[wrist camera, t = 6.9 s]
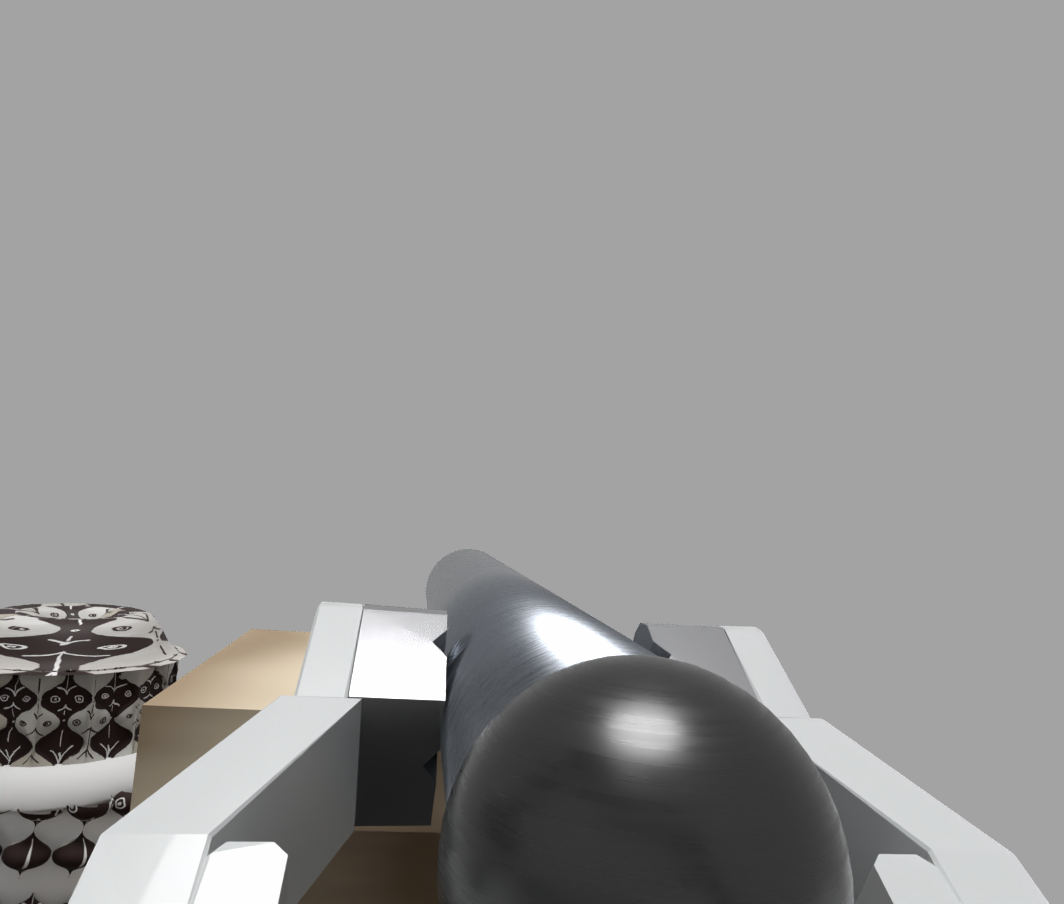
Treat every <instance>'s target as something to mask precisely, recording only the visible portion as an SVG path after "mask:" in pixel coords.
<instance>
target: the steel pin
mask: <svg viewBox="0 0 1064 904" xmlns="http://www.w3.org/2000/svg"><path fill="white" fill-rule="evenodd" d="M426 598H427V608H428V609H430V610H443V611H447V635H446V645H445V656H446V657H447V660H446V692H445V707H444V715H443V720H442V725H441V731H440V748H441V759H442V770H443V781H444V792H445V802H446V809H445V813H444V816H443V820H442V827H441V834H440V841H439V848H438V862H437V890H438V899H439V904H854V887H853V877H852V870H851V864H850V858H849V852H848V846H847V841H846V838H845V834H844V831H843V827H842V824H841V820H840V817H839V814H838V811H837V809H836V806H835V804H834V802H833V799H832V797H831V795H830V793H829V790H828V788H827V786H826V784H825V782H824V780H823V779H822V777H821V775H820V774H819V772H818V770H817V768H816V767H815V765H814V763H813V762H812V760H811V758H810V756H809V755H808V753H807V752H806V751H805V749H804V748H803V747H802V745H801V744H800V743H799V741H798V740H797V739H796V738H795V736H794V735H793V734H792V732H791V731H790V730H789V729H788V728H787V727H786V726H785V725H784V724H783V723H782V722H781V721H780V720H779V719H778V718H777V717H776V716H775V715H774V714H773V713H772V712H771V711H770V710H769V709H768V708H767V707H766V706H764V705H763V704H762V703H761V702H759V701H758V700H757V699H755V698H754V697H753V696H752V695H750V694H749V693H748V692H746V691H745V690H743V689H742V688H740V687H738V686H737V685H735V684H733V683H732V682H730V681H728V680H727V679H725V678H723V677H721V676H719V675H717V674H715V673H712V672H710V671H708V670H705V669H703V668H700V667H698V666H696V665H693V664H690V663H686V662H682V661H678V660H673V659H669V658H665V657H659V656H657V655H656V654H654V653H652V652H651V651H649V650H647V649H646V648H644V647H642V646H641V645H639V644H637V643H636V642H634V641H632V640H631V639H629V638H627V637H626V636H624V635H622V634H620V633H619V632H617V631H615V630H614V629H612V628H610V627H609V626H607V625H605V624H604V623H602V622H600V621H599V620H597V619H595V618H594V617H592V616H590V615H589V614H587V613H585V612H584V611H582V610H580V609H579V608H577V607H575V606H574V605H572V604H570V603H568V602H567V601H565V600H564V599H562V598H560V597H559V596H557V595H555V594H553V593H552V592H550V591H549V590H547V589H545V588H544V587H542V586H540V585H539V584H537V583H535V582H533V581H532V580H530V579H528V578H527V577H525V576H523V575H522V574H520V573H518V572H517V571H515V570H513V569H512V568H510V567H508V566H507V565H505V564H503V563H502V562H500V561H498V560H497V559H495V558H493V557H491V556H490V555H488V554H486V553H484V552H482V551H478V550H472V549H464V550H459V551H455V552H453V553H450V554H449V555H447V556H445V557H444V558H442V559H441V560H440V561H439V562H438V563H437V564H436V566H435V567H434V568H433V570H432V571H431V573H430V575H429V578H428V581H427V587H426Z"/></svg>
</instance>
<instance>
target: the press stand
mask: <svg viewBox="0 0 1064 904" xmlns="http://www.w3.org/2000/svg"><path fill="white" fill-rule="evenodd" d="M310 633H311V632H296V631H278V630H260V629H251V630H249V631H248V632H247V633H245V634H244V635H242V636H241V637H239V638H238V639H237V640H235V641H234V642H232V643H231V644H229V645H228V646H226V647H225V648H224V649H222V650H221V651H219V652H218V653H216V654H215V655H214V656H212V657H211V658H209V659H208V660H206V661H205V662H203V663H202V664H201V665H199V666H198V667H196V668H195V669H193V670H192V671H191V672H189V673H188V674H186V675H185V676H184V677H182V678H181V679H179V680H178V681H176V682H175V683H173V684H172V685H170V686H169V687H168V688H166V689H165V690H163V691H162V692H160V693H159V694H157V695H156V696H155V697H153V698H152V699H150V700H149V701H147V702H146V703H145V704H143V705H142V712H141V720H140V729H139V737H138V746H137V755H136V763H135V772H134V780H133V789H132V797H131V806H130V811H132V810H133V809H134V808H136V807H137V806H138V805H139V804H141V803H142V802H143V801H145V800H146V799H147V798H149V797H150V796H151V795H152V794H154V793H155V792H156V791H158V790H159V789H160V788H161V787H163V786H164V785H165V784H167V783H168V782H169V781H171V780H172V779H173V778H174V777H176V776H177V775H178V774H180V773H181V772H182V771H184V770H185V769H186V768H187V767H189V766H190V765H191V764H193V763H194V762H195V761H196V760H198V759H199V758H200V757H202V756H203V755H204V754H206V753H207V752H208V751H209V750H211V749H212V748H213V747H215V746H216V745H217V744H218V743H220V742H221V741H222V740H224V739H225V738H226V737H228V736H229V735H230V734H231V733H233V732H234V731H235V730H237V729H238V728H239V727H240V726H242V725H243V724H244V723H246V722H247V721H248V720H250V719H251V718H252V717H253V716H255V715H256V714H257V713H259V712H260V711H261V710H262V709H264V708H265V707H266V706H268V705H269V704H270V703H272V702H273V701H274V700H275V699H277V698H278V697H279V696H281V695H289V696H294V694H295V690H296V687H297V683H298V679H299V675H300V671H301V668H302V664H303V660H304V656H305V652H306V649H307V645H308V641H309V637H310ZM445 809H446V802H445V792H444V781H443V770H442V759H441V748H440V750H439V751H438V752H437V776H436V788H435V796H434V804H433V812H432V819H431V826H354V831H353V833H352V834H351V835H350V837H349V838H348V839H347V840H346V842H345V843H344V844H343V846H342V847H341V848H340V849H339V851H338V852H337V853H336V855H335V856H334V857H333V858H332V860H331V861H330V862H329V863H328V865H327V866H326V867H325V869H324V870H323V871H322V872H321V874H320V875H319V876H318V878H317V879H316V880H315V881H314V883H313V884H312V885H311V887H310V888H309V889H308V890H307V892H306V893H305V894H304V895H303V897H302V898H301V899H300V901H299V902H298V903H297V904H439V899H438V890H437V862H438V848H439V841H440V834H441V827H442V820H443V816H444V813H445Z"/></svg>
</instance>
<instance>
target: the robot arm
mask: <svg viewBox="0 0 1064 904" xmlns="http://www.w3.org/2000/svg"><path fill="white" fill-rule="evenodd" d="M446 635H447V611H443V610H430V609H417V608H404V607H393V606H381V605H368V604H365V606H363V605H362V604H352V603H351V604H350V603H337V602H321V604H320V605H319V607H318V608H317V611H316V614H315V618H314V622H313V626H312V630H311V633H310V637H309V641H308V645H307V649H306V652H305V656H304V660H303V664H302V668H301V671H300V675H299V679H298V683H297V687H296V690H295V694H294V696H289V695H281V696H279V697H278V698H277V699H275V700H274V701H273V702H272V703H270V704H269V705H268V706H266V707H265V708H264V709H262V710H261V711H260V712H259V713H257V714H256V715H255V716H253V717H252V718H251V719H250V720H248V721H247V722H246V723H244V724H243V725H242V726H240V727H239V728H238V729H237V730H235V731H234V732H233V733H231V734H230V735H229V736H228V737H226V738H225V739H224V740H222V741H221V742H220V743H218V744H217V745H216V746H215V747H213V748H212V749H211V750H209V751H208V752H207V753H206V754H204V755H203V756H202V757H200V758H199V759H198V760H196V761H195V762H194V763H193V764H191V765H190V766H189V767H187V768H186V769H185V770H184V771H182V772H181V773H180V774H178V775H177V776H176V777H174V778H173V779H172V780H171V781H169V782H168V783H167V784H165V785H164V786H163V787H161V788H160V789H159V790H158V791H156V792H155V793H154V794H152V795H151V796H150V797H149V798H147V799H146V800H145V801H143V802H142V803H141V804H139V805H138V806H137V807H136V808H134V809H133V810H132V811H130V812H129V813H128V814H127V815H125V816H124V817H123V818H121V819H120V820H119V821H117V822H116V823H115V824H114V825H112V826H111V827H110V828H108V829H107V830H106V831H105V832H103V833H102V834H101V835H100V837H99V839H98V841H97V843H96V846H95V848H94V850H93V852H92V854H91V856H90V858H89V860H88V862H87V865H86V867H85V869H84V871H83V873H82V875H81V877H80V879H79V881H78V883H77V886H76V888H75V890H74V892H73V894H72V896H71V898H70V900H69V902H68V904H297V903H298V902H299V901H300V899H301V898H302V897H303V895H304V894H305V893H306V892H307V890H308V889H309V888H310V887H311V885H312V884H313V883H314V881H315V880H316V879H317V878H318V876H319V875H320V874H321V872H322V871H323V870H324V869H325V867H326V866H327V865H328V863H329V862H330V861H331V860H332V858H333V857H334V856H335V855H336V853H337V852H338V851H339V849H340V848H341V847H342V846H343V844H344V843H345V842H346V840H347V839H348V838H349V837H350V835H351V834H352V833H353V831H354V826H431V819H432V812H433V804H434V796H435V788H436V776H437V752H438V751H439V750H440V731H441V725H442V720H443V715H444V707H445V692H446V660H447V657H446V656H445V645H446ZM633 641H634V642H636V643H637V644H639V645H641V646H642V647H644V648H646V649H647V650H649V651H651V652H652V653H654V654H656V655H657V656H659V657H665V658H669V659H673V660H678V661H682V662H686V663H690V664H693V665H696V666H698V667H700V668H703V669H705V670H708V671H710V672H712V673H715V674H717V675H719V676H721V677H723V678H725V679H727V680H728V681H730V682H732V683H733V684H735V685H737V686H738V687H740V688H742V689H743V690H745V691H746V692H748V693H749V694H750V695H752V696H753V697H754V698H755V699H757V700H758V701H759V702H761V703H762V704H763V705H764V706H766V707H767V708H768V709H769V710H770V711H771V712H772V713H773V714H774V715H775V716H776V717H777V718H778V719H779V720H780V721H781V722H782V723H783V724H784V725H785V726H786V727H787V728H788V729H789V730H790V731H791V732H792V734H793V735H794V736H795V738H796V739H797V740H798V741H799V743H800V744H801V745H802V747H803V748H804V749H805V751H806V752H807V753H808V755H809V756H810V758H811V760H812V762H813V763H814V765H815V767H816V768H817V770H818V772H819V774H820V775H821V777H822V779H823V780H824V782H825V784H826V786H827V788H828V790H829V793H830V795H831V797H832V799H833V802H834V804H835V806H836V809H837V811H838V814H839V817H840V820H841V824H842V827H843V831H844V834H845V838H846V841H847V846H848V852H849V858H850V864H851V870H852V877H853V887H854V904H1049V903H1048V901H1047V900H1046V899H1045V897H1044V896H1043V894H1042V893H1041V891H1040V890H1039V889H1038V887H1037V886H1036V884H1035V883H1034V882H1033V880H1032V879H1031V877H1030V876H1029V875H1028V873H1027V872H1026V870H1025V869H1024V867H1023V866H1022V865H1021V863H1020V862H1019V860H1018V859H1017V858H1016V856H1015V855H1014V854H1013V853H1012V852H1010V851H1009V850H1007V849H1006V848H1005V847H1003V846H1002V845H1000V844H999V843H998V842H996V841H995V840H993V839H992V838H990V837H989V836H988V835H986V834H985V833H983V832H982V831H980V830H979V829H978V828H976V827H975V826H973V825H972V824H970V823H969V822H968V821H966V820H965V819H964V818H962V817H961V816H959V815H958V814H956V813H955V812H954V811H952V810H951V809H949V808H948V807H946V806H945V805H944V804H942V803H941V802H939V801H938V800H937V799H935V798H934V797H932V796H931V795H929V794H928V793H927V792H925V791H924V790H922V789H921V788H919V787H918V786H917V785H915V784H914V783H913V782H911V781H910V780H908V779H907V778H905V777H904V776H902V775H901V774H900V773H898V772H897V771H896V770H894V769H893V768H891V767H890V766H888V765H887V764H886V763H884V762H883V761H881V760H880V759H879V758H877V757H876V756H874V755H873V754H871V753H870V752H869V751H867V750H866V749H864V748H863V747H861V746H860V745H859V744H857V743H856V742H854V741H853V740H852V739H850V738H849V737H847V736H846V735H844V734H843V733H842V732H840V731H839V730H837V729H836V728H835V727H833V726H832V725H830V724H829V723H828V722H826V721H825V720H823V719H816V718H810V716H809V714H808V713H807V711H806V709H805V707H804V705H803V704H802V702H801V700H800V698H799V697H798V695H797V693H796V691H795V689H794V687H793V686H792V684H791V682H790V680H789V678H788V677H787V675H786V673H785V671H784V670H783V668H782V666H781V664H780V662H779V661H778V659H777V657H776V655H775V653H774V652H773V650H772V648H771V646H770V644H769V643H768V641H767V639H766V637H765V636H764V634H763V632H762V631H761V630H759V629H758V628H756V627H741V626H740V627H739V626H717V627H704V626H686V625H667V624H648V623H640V625H639V627H638V629H637V630H636V632H635V636H634V640H633Z"/></svg>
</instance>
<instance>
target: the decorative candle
mask: <svg viewBox="0 0 1064 904" xmlns="http://www.w3.org/2000/svg"><path fill="white" fill-rule="evenodd" d="M186 655H187V654H186V653H185V651H184V650H183V649H182V648H181V647H178V646H175V645H171V644H170V643H169V642H168V640H167V638H166V636H165V634H164V632H163V630H162V628H161V626H160V624H159V623H158V622H157V620H156V619H155V618H154V616H153V615H151V614H150V613H149V612H146V611H143V610H139V609H135V608H130V607H123V606H114V605H100V604H65V603H64V604H62V603H57V604H31V605H22V606H12V607H7V608H3V609H0V904H68V902H69V900H70V898H71V896H72V894H73V892H74V890H75V888H76V886H77V883H78V881H79V879H80V877H81V875H82V873H83V871H84V869H85V867H86V865H87V862H88V860H89V858H90V856H91V854H92V852H93V850H94V848H95V846H96V843H97V841H98V839H99V837H100V835H101V834H102V833H103V832H105V831H106V830H107V829H108V828H110V827H111V826H112V825H114V824H115V823H116V822H117V821H119V820H120V819H121V818H123V817H124V816H125V815H127V814H128V813H129V812H130V806H131V797H132V789H133V780H134V772H135V763H136V755H137V746H138V737H139V729H140V720H141V712H142V705H143V704H145V703H146V702H147V701H149V700H150V699H152V698H153V697H155V696H156V695H157V694H159V693H160V692H162V691H163V690H165V689H166V688H168V687H169V686H170V685H172V684H173V683H175V682H176V675H177V671H178V661H179V659H181V658H183V657H184V656H186Z"/></svg>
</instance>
